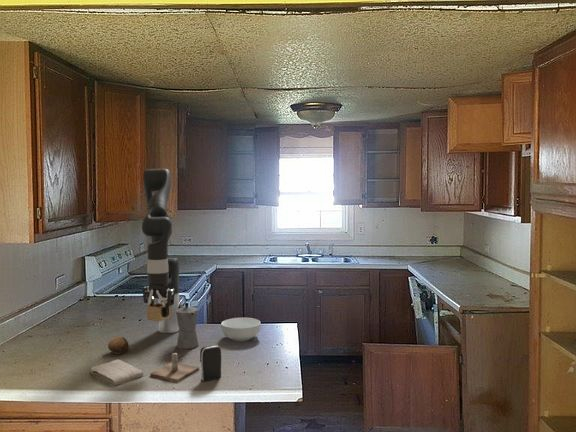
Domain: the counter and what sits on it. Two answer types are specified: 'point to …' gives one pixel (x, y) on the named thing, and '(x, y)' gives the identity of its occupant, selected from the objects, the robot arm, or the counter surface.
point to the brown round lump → (118, 345)
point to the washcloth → (116, 372)
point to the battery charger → (210, 362)
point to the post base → (176, 374)
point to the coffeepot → (187, 327)
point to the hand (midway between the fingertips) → (158, 315)
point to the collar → (156, 312)
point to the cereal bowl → (240, 328)
